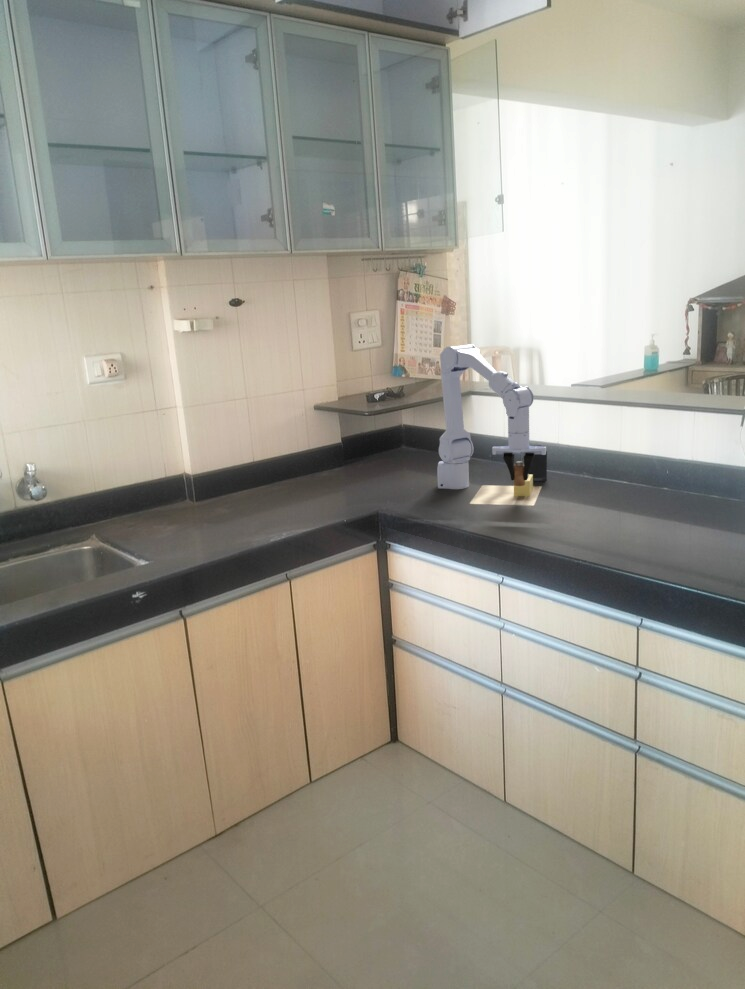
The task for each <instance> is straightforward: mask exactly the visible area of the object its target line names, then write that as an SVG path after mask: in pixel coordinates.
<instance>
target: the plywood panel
mask: <svg viewBox="0 0 745 989" xmlns="http://www.w3.org/2000/svg"><path fill="white" fill-rule="evenodd" d="M542 487H543V486H542V485H541V486H540V485H539V486H535V485H533V490H532V492H531V495H530V496H514V485H489V484H487V485H486V484H485V485H484V484H483V485H481V487H480V488H479V490H477V492H476V493H475V495H474V496H473V498H472V499H471V500H470V502H469V505H488V506H489V505H491V506H492V505H494V506H496V505H497V506H499V505H500V506H528V507H531V506H532V507H534V506H535V504H536V502H537V500H538V498H539V494H540V492H541V490H542Z"/></svg>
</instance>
